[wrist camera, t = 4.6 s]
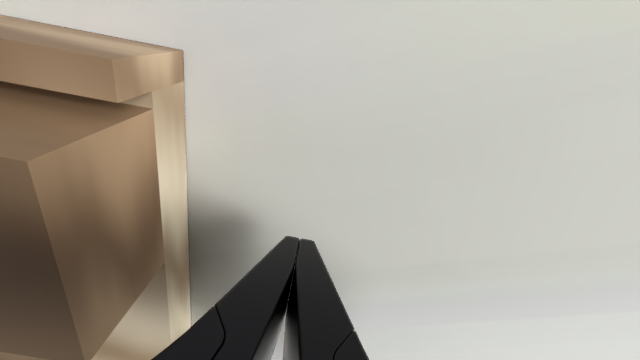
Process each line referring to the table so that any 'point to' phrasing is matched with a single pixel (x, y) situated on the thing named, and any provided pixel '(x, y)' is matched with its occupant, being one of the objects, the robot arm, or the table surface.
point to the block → (73, 219)
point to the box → (169, 120)
